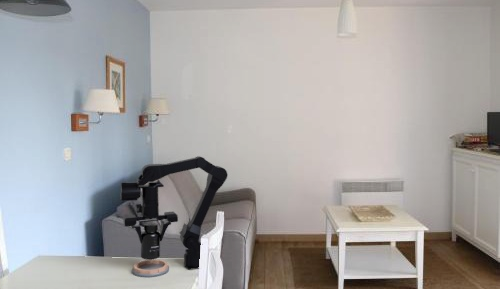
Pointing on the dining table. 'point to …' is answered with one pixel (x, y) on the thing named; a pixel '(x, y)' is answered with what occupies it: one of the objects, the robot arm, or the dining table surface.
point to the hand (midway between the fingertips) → (151, 242)
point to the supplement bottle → (150, 242)
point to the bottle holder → (150, 268)
